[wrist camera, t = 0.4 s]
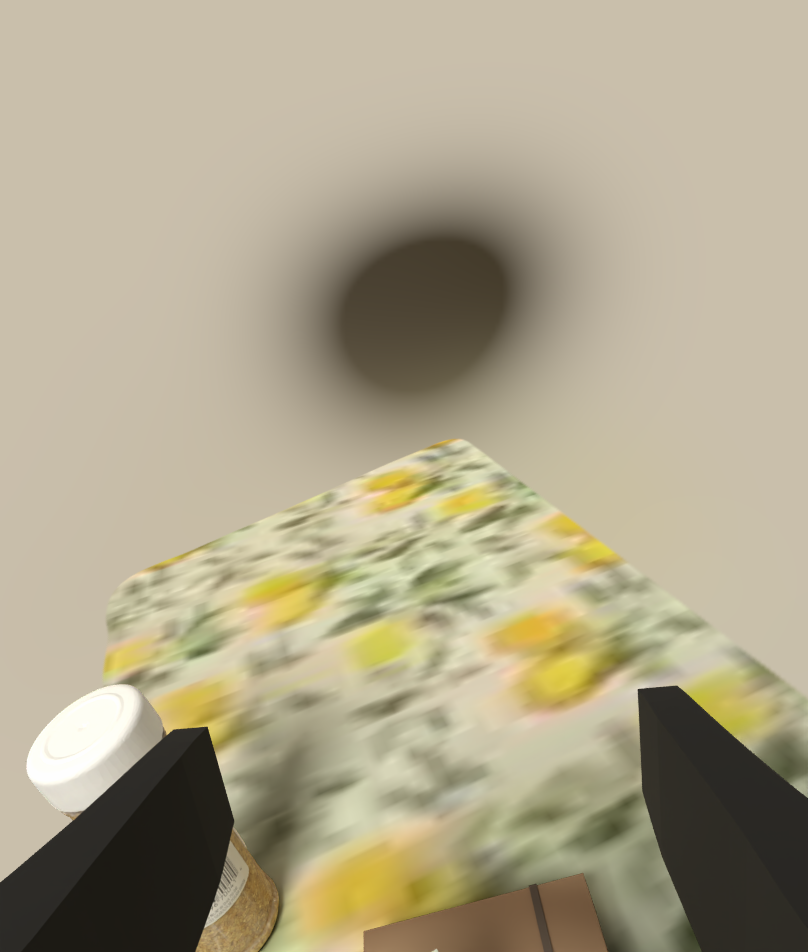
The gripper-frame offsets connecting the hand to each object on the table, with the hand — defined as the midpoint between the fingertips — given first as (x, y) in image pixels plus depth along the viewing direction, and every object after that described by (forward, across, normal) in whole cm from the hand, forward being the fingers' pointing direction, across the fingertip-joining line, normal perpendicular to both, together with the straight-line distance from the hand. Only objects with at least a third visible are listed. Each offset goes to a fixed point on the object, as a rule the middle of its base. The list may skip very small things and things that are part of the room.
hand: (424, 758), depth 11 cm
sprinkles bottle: (+13, +12, +20) cm, 27 cm away
